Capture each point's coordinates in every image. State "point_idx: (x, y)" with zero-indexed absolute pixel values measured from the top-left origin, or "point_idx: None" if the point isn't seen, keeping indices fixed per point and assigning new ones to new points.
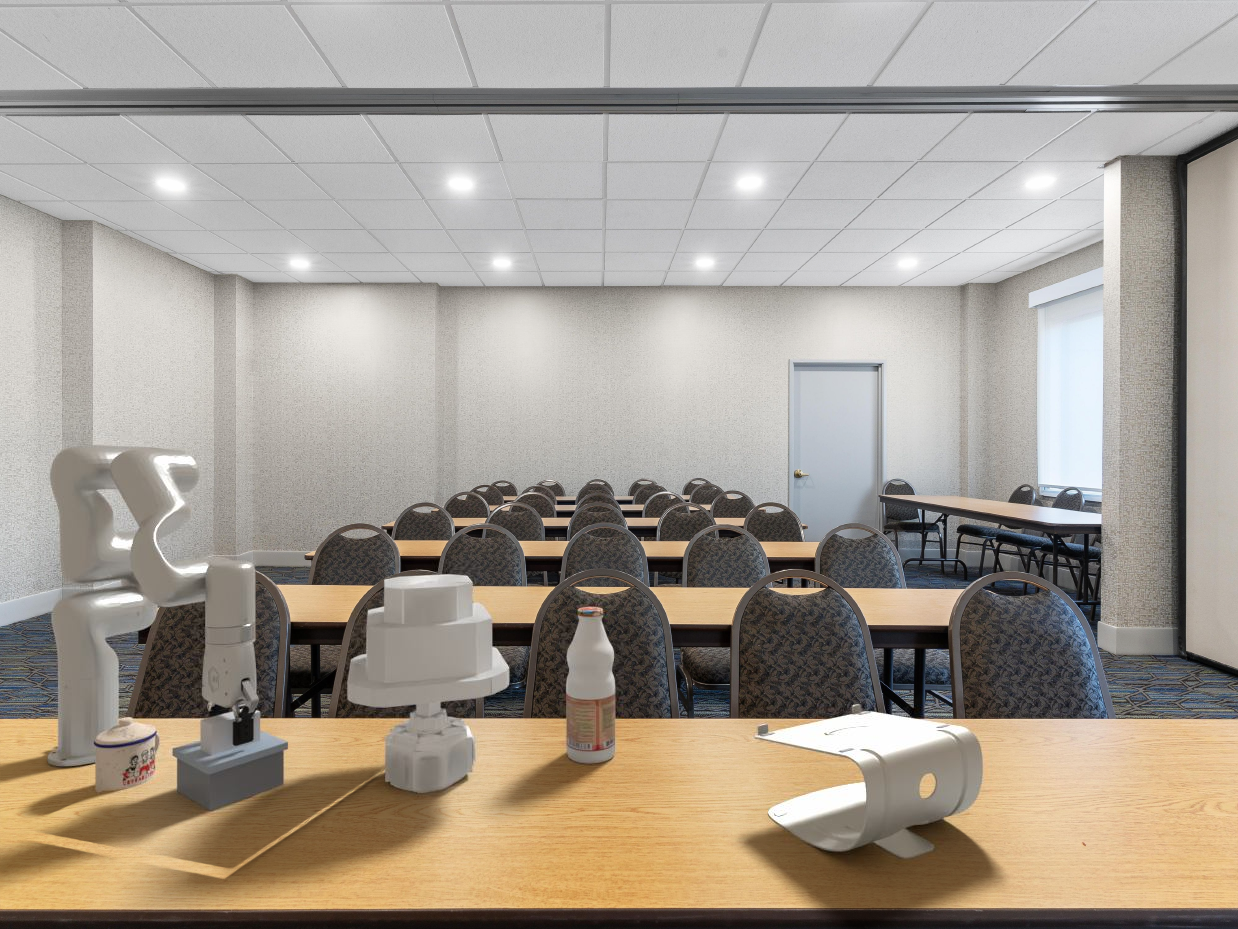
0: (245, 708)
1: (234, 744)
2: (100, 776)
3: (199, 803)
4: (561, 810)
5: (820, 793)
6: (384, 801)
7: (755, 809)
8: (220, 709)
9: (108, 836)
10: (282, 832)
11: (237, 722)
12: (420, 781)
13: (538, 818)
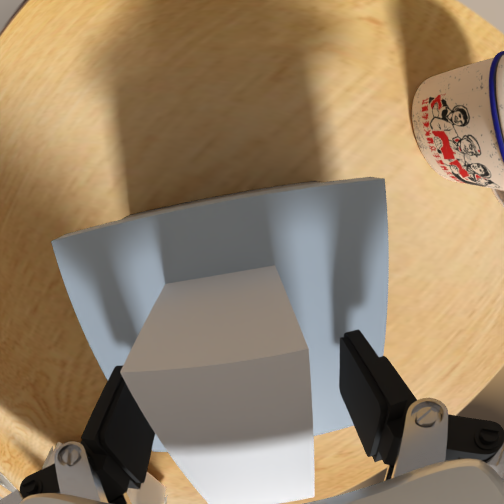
0: (22, 493)
1: (115, 368)
2: (456, 68)
3: (180, 205)
4: (12, 452)
5: (15, 489)
6: (61, 418)
7: (3, 473)
8: (382, 440)
9: (195, 27)
10: (16, 297)
11: (73, 442)
12: (51, 451)
13: (3, 439)
